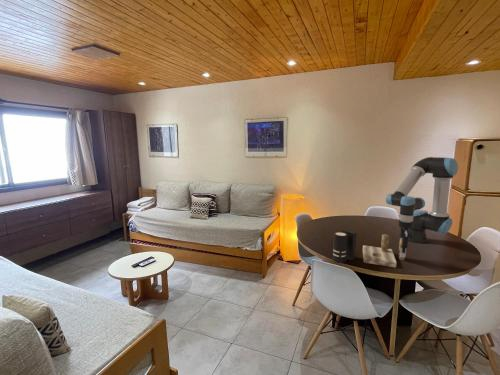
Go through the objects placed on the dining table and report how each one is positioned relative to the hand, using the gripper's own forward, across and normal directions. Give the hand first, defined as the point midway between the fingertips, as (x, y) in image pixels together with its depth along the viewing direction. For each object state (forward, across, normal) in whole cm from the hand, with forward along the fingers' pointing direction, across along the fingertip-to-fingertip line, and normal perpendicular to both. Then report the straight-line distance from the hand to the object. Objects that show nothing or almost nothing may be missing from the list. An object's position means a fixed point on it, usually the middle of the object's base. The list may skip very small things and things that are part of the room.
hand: (402, 255), depth 164 cm
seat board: (+3, +3, -14) cm, 15 cm away
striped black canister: (+3, +14, -36) cm, 39 cm away
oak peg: (+3, 0, 0) cm, 3 cm away
